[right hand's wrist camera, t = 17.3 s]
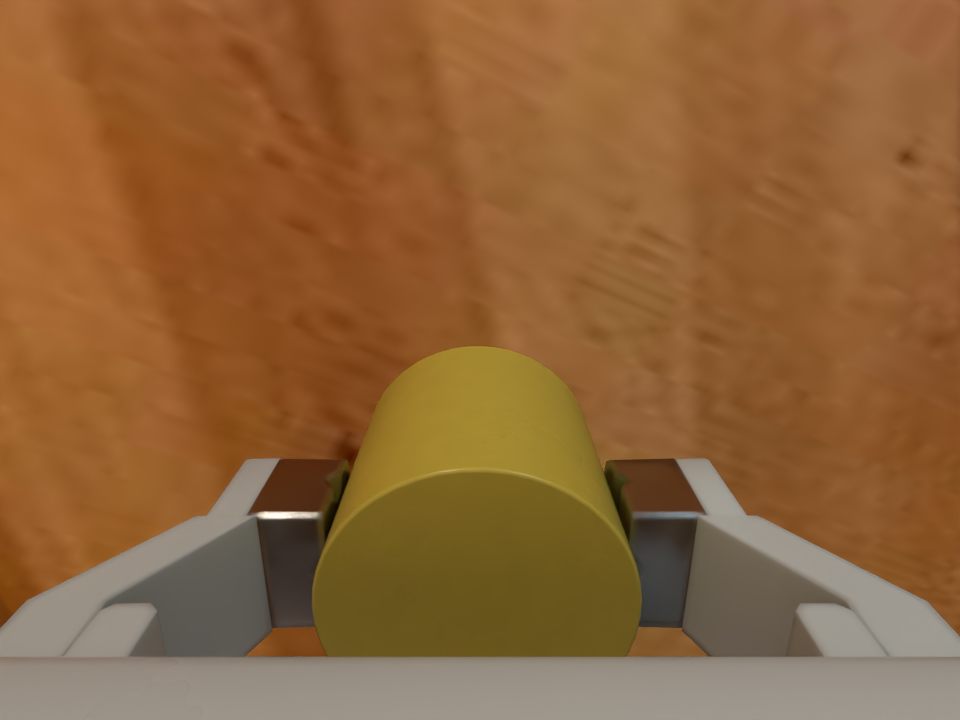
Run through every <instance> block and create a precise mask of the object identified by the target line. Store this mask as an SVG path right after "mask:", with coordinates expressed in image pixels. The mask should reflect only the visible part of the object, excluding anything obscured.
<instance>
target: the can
mask: <svg viewBox="0 0 960 720" xmlns="http://www.w3.org/2000/svg"><path fill="white" fill-rule="evenodd" d="M641 606H642V593H641V582H640V578H639V574H638V570H637V566H636V562H635V560H634V557H633V554H632V551H631V548H630V545H629V543H628V540H627V537H626V534H625V531H624V528H623V526H622V523H621V520H620V517H619V514H618V511H617V509H616V506H615V503H614V500H613V497H612V494H611V492H610V489H609V486H608V483H607V480H606V477H605V475H604V472H603V469H602V466H601V463H600V460H599V458H598V455H597V452H596V449H595V446H594V443H593V441H592V438H591V435H590V432H589V429H588V426H587V424H586V421H585V418H584V415H583V413H582V411H581V408H580V406H579V404H578V402H577V400H576V399H575V397H574V395H573V394H572V392H571V391H570V390H569V388H568V387H567V386H566V385H565V384H564V382H563V381H562V380H561V379H560V378H558V377H557V376H556V375H555V374H554V373H553V372H552V371H551V370H549V369H548V368H546V367H545V366H543V365H542V364H541V363H539V362H537V361H535V360H533V359H531V358H529V357H527V356H525V355H522V354H519V353H516V352H514V351H510V350H505V349H501V348H495V347H486V346H469V347H461V348H454V349H450V350H446V351H442V352H439V353H436V354H434V355H431V356H429V357H426V358H424V359H422V360H421V361H419V362H417V363H415V364H414V365H412V366H410V367H409V368H408V369H407V370H405V371H404V372H403V373H401V374H400V375H399V376H398V377H397V378H396V379H395V380H394V381H393V382H392V383H391V384H390V385H389V387H388V388H387V389H386V391H385V392H384V393H383V395H382V396H381V398H380V400H379V402H378V403H377V405H376V407H375V409H374V412H373V415H372V418H371V420H370V423H369V426H368V428H367V431H366V434H365V437H364V439H363V442H362V445H361V448H360V450H359V453H358V456H357V458H356V461H355V464H354V467H353V469H352V472H351V475H350V478H349V480H348V483H347V486H346V488H345V491H344V494H343V497H342V499H341V502H340V505H339V508H338V510H337V513H336V516H335V518H334V521H333V524H332V527H331V529H330V532H329V535H328V538H327V540H326V543H325V546H324V548H323V551H322V554H321V557H320V559H319V562H318V565H317V568H316V571H315V576H314V581H313V586H312V610H313V617H314V623H315V627H316V630H317V633H318V637H319V640H320V642H321V644H322V646H323V649H324V651H325V653H326V655H327V657H626V656H627V654H628V653H629V651H630V649H631V646H632V644H633V641H634V639H635V637H636V633H637V629H638V625H639V621H640V617H641Z"/></svg>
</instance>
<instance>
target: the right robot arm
mask: <svg viewBox="0 0 960 720" xmlns="http://www.w3.org/2000/svg"><path fill="white" fill-rule="evenodd" d="M350 475H351V472H350V466H349V463H348V461H347V460H327V459H281V458H260V459H247V460H246V461H245V462H244V463H243V464H242V466H241V467H240V469H239V470H238V472H237V473H236V474H235V476H234V477H233V479H232V480H231V481H230V483H229V484H228V486H227V487H226V489H225V490H224V491H223V493H222V494H221V496H220V497H219V499H218V500H217V501H216V503H215V504H214V506H213V507H212V509H211V510H210V511H209V513H208V514H207V516H195V517H193V518H191V519H189V520H187V521H185V522H183V523H181V524H179V525H177V526H175V527H173V528H171V529H169V530H167V531H165V532H163V533H161V534H159V535H157V536H155V537H153V538H151V539H149V540H147V541H145V542H143V543H141V544H139V545H137V546H135V547H133V548H131V549H129V550H127V551H125V552H123V553H121V554H119V555H117V556H115V557H113V558H111V559H109V560H107V561H105V562H103V563H101V564H99V565H97V566H95V567H93V568H91V569H89V570H87V571H85V572H83V573H81V574H79V575H77V576H75V577H73V578H71V579H69V580H67V581H65V582H63V583H61V584H59V585H57V586H55V587H53V588H51V589H49V590H47V591H45V592H43V593H41V594H39V595H37V596H35V597H33V598H31V599H29V600H27V601H26V602H25V603H24V604H23V605H22V606H21V607H20V608H19V609H18V610H17V611H16V612H15V613H14V614H13V615H12V616H11V618H10V619H9V620H8V621H7V622H6V623H5V624H4V625H3V626H2V627H1V628H0V720H960V636H959V635H958V634H957V633H956V632H955V631H954V630H953V629H952V628H951V627H950V626H949V625H948V624H947V622H946V621H945V620H944V619H943V618H942V617H941V616H940V615H939V614H938V613H937V612H936V611H935V610H934V608H933V607H932V606H931V605H930V604H929V603H928V602H927V601H925V600H923V599H921V598H919V597H917V596H915V595H913V594H911V593H909V592H907V591H905V590H903V589H902V588H900V587H898V586H896V585H894V584H892V583H890V582H888V581H886V580H884V579H882V578H880V577H878V576H876V575H874V574H872V573H870V572H868V571H866V570H864V569H862V568H860V567H858V566H856V565H854V564H852V563H850V562H848V561H846V560H844V559H842V558H840V557H838V556H836V555H834V554H832V553H830V552H828V551H826V550H824V549H822V548H820V547H818V546H817V545H815V544H813V543H811V542H809V541H807V540H805V539H803V538H801V537H799V536H797V535H795V534H793V533H791V532H789V531H787V530H785V529H783V528H781V527H779V526H777V525H775V524H773V523H771V522H769V521H767V520H765V519H763V518H761V517H759V516H747V514H746V513H745V512H744V510H743V509H742V507H741V506H740V504H739V503H738V501H737V500H736V499H735V497H734V496H733V494H732V493H731V491H730V490H729V488H728V487H727V486H726V484H725V483H724V481H723V480H722V478H721V477H720V476H719V474H718V473H717V471H716V470H715V468H714V467H713V465H712V464H711V463H710V461H709V460H707V459H705V458H689V459H636V460H609V461H606V466H605V471H604V475H605V477H606V480H607V483H608V486H609V489H610V492H611V494H612V497H613V500H614V503H615V506H616V509H617V511H618V514H619V517H620V520H621V523H622V526H623V528H624V531H625V534H626V537H627V540H628V543H629V545H630V548H631V551H632V554H633V557H634V560H635V562H636V566H637V570H638V574H639V578H640V582H641V593H642V606H641V617H640V621H639V625H638V627H671V628H682V631H683V632H684V633H685V634H686V635H687V636H688V637H689V638H690V639H691V640H693V641H694V642H695V643H696V644H697V645H698V646H699V647H700V648H701V649H702V650H703V651H704V652H705V653H706V654H707V655H709V656H710V657H245V656H246V655H247V654H248V653H249V652H250V651H251V650H252V649H253V648H254V647H256V646H257V645H258V644H259V643H260V642H261V641H262V640H263V639H264V638H265V637H266V636H267V635H269V634H270V633H271V632H272V628H283V627H315V623H314V617H313V610H312V586H313V581H314V576H315V571H316V568H317V565H318V562H319V559H320V557H321V554H322V551H323V548H324V546H325V543H326V540H327V538H328V535H329V532H330V529H331V527H332V524H333V521H334V518H335V516H336V513H337V510H338V508H339V505H340V502H341V499H342V497H343V494H344V491H345V488H346V486H347V483H348V480H349V478H350Z"/></svg>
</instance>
